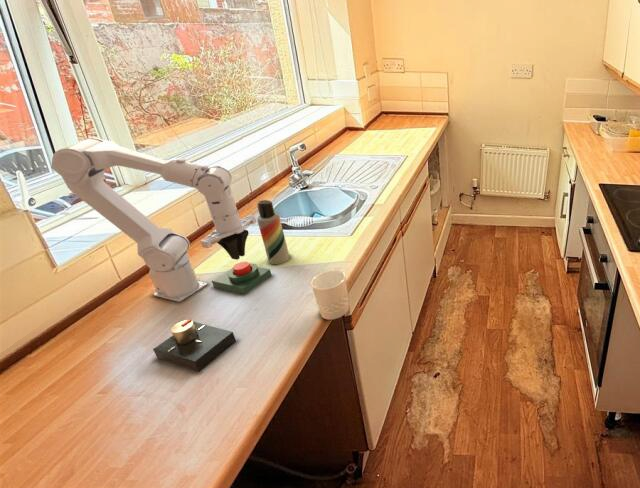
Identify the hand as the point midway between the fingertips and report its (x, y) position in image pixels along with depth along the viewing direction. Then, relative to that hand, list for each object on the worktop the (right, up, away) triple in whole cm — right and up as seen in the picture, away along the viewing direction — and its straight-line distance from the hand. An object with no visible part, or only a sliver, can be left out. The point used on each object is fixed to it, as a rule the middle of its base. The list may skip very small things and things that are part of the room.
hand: (238, 256), depth 110 cm
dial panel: (+4, -18, -19) cm, 27 cm away
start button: (0, -4, +2) cm, 5 cm away
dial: (+2, -15, -20) cm, 25 cm away
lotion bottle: (+3, -3, +14) cm, 15 cm away
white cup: (+30, -13, -7) cm, 33 cm away
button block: (-1, -8, +4) cm, 9 cm away
